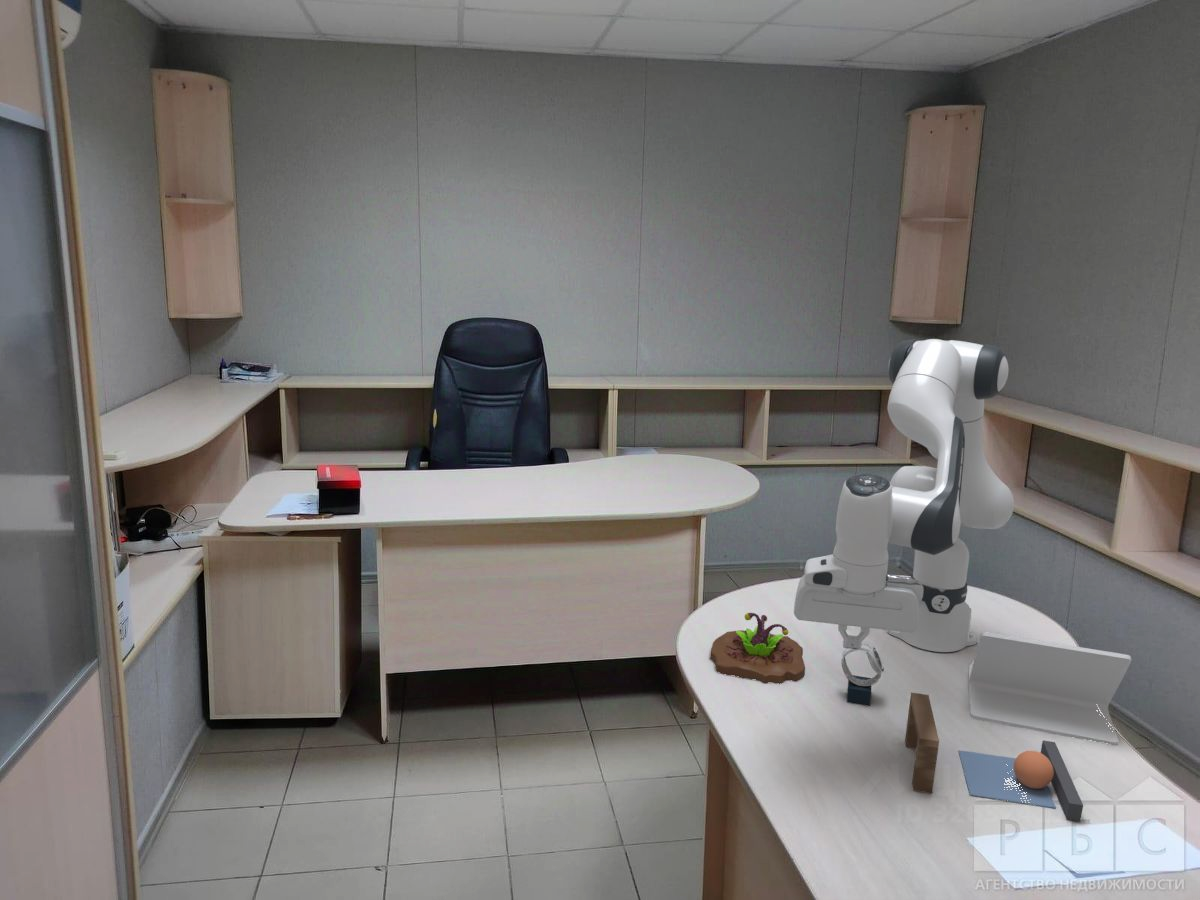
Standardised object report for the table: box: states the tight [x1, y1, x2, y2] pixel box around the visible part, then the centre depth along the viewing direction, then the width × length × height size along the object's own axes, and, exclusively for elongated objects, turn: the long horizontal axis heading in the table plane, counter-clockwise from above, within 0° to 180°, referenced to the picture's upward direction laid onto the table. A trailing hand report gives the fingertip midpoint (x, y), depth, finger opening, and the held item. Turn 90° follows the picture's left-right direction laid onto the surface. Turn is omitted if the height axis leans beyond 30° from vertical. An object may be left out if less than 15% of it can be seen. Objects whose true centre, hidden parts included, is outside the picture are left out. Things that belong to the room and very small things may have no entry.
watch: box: [840, 643, 885, 707], centre depth 175 cm, size 6×8×11 cm
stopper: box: [1040, 740, 1084, 823], centre depth 150 cm, size 18×2×3 cm, turn 167°
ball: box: [1014, 750, 1054, 789], centre depth 150 cm, size 6×6×6 cm
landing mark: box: [958, 749, 1057, 810], centre depth 152 cm, size 13×13×1 cm
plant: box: [709, 612, 806, 685], centre depth 190 cm, size 20×20×11 cm
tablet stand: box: [967, 631, 1132, 746], centre depth 172 cm, size 18×25×17 cm
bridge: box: [904, 692, 940, 794], centre depth 154 cm, size 3×15×10 cm, turn 167°
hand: (851, 647), depth 153 cm, fingers closed
